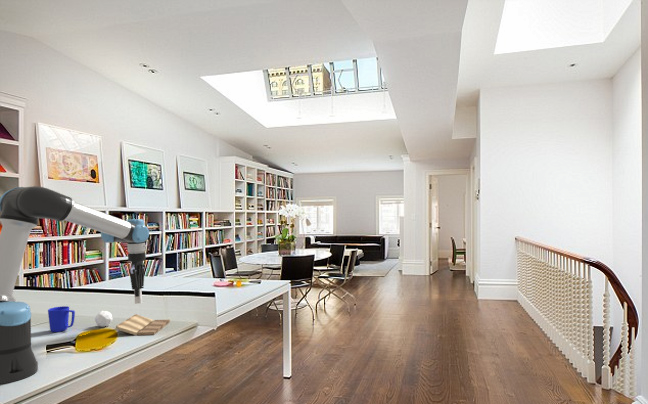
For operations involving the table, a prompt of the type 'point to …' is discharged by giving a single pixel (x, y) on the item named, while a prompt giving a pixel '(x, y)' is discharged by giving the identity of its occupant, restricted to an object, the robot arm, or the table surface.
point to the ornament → (103, 318)
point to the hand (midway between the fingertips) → (138, 303)
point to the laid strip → (154, 327)
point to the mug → (60, 318)
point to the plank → (134, 324)
